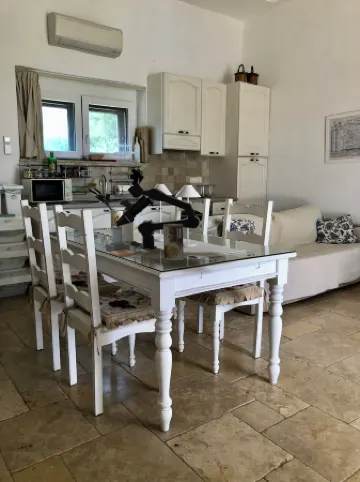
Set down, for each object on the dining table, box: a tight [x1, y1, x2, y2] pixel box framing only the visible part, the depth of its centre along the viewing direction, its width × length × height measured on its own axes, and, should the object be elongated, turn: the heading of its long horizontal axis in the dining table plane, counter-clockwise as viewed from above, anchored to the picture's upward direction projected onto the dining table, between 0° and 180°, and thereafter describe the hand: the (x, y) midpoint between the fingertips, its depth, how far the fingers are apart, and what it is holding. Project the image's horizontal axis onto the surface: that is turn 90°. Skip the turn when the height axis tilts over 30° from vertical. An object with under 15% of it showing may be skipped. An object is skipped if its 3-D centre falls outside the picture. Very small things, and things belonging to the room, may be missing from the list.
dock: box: [105, 242, 136, 258], centre depth 207 cm, size 19×12×3 cm, turn 39°
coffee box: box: [162, 224, 185, 261], centre depth 189 cm, size 9×6×16 cm
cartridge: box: [111, 225, 123, 246], centre depth 211 cm, size 5×5×12 cm
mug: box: [122, 221, 135, 243], centre depth 233 cm, size 10×7×12 cm, turn 122°
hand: (116, 224), depth 213 cm, fingers open, 9 cm apart
